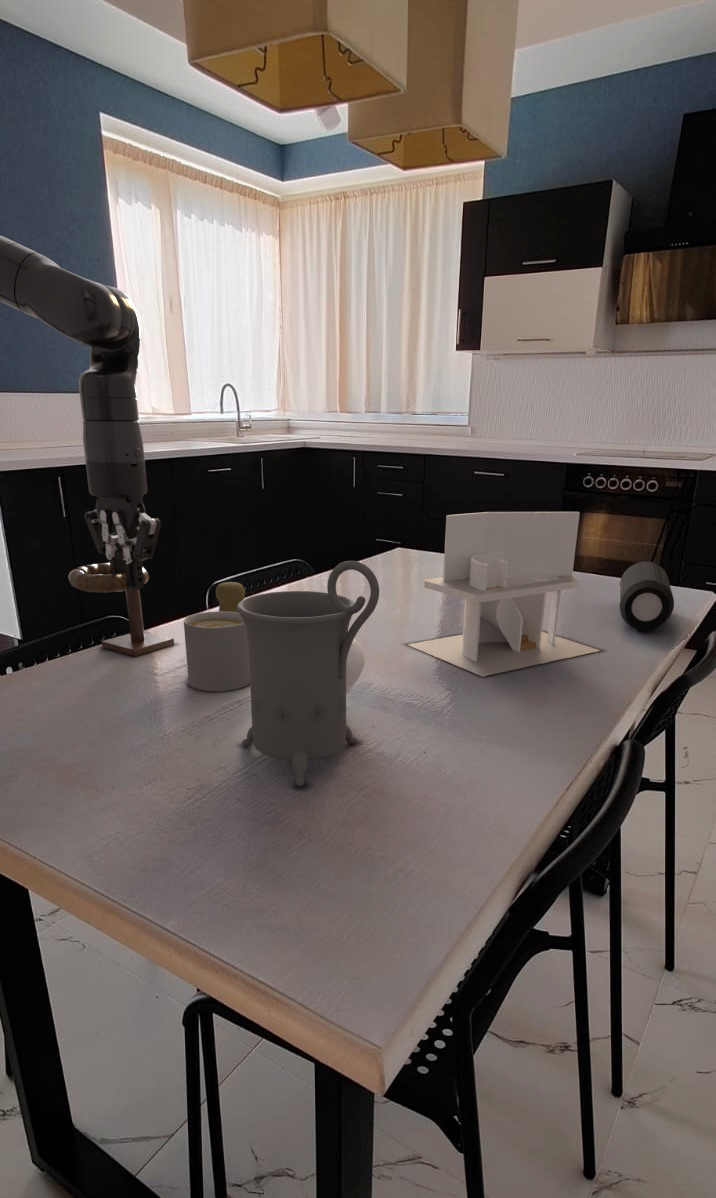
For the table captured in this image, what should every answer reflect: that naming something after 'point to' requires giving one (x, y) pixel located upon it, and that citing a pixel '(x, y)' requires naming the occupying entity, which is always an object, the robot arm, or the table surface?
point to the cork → (229, 596)
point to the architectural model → (506, 589)
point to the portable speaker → (645, 596)
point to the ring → (100, 578)
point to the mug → (302, 668)
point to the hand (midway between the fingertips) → (128, 587)
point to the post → (136, 632)
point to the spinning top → (354, 664)
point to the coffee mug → (217, 651)
